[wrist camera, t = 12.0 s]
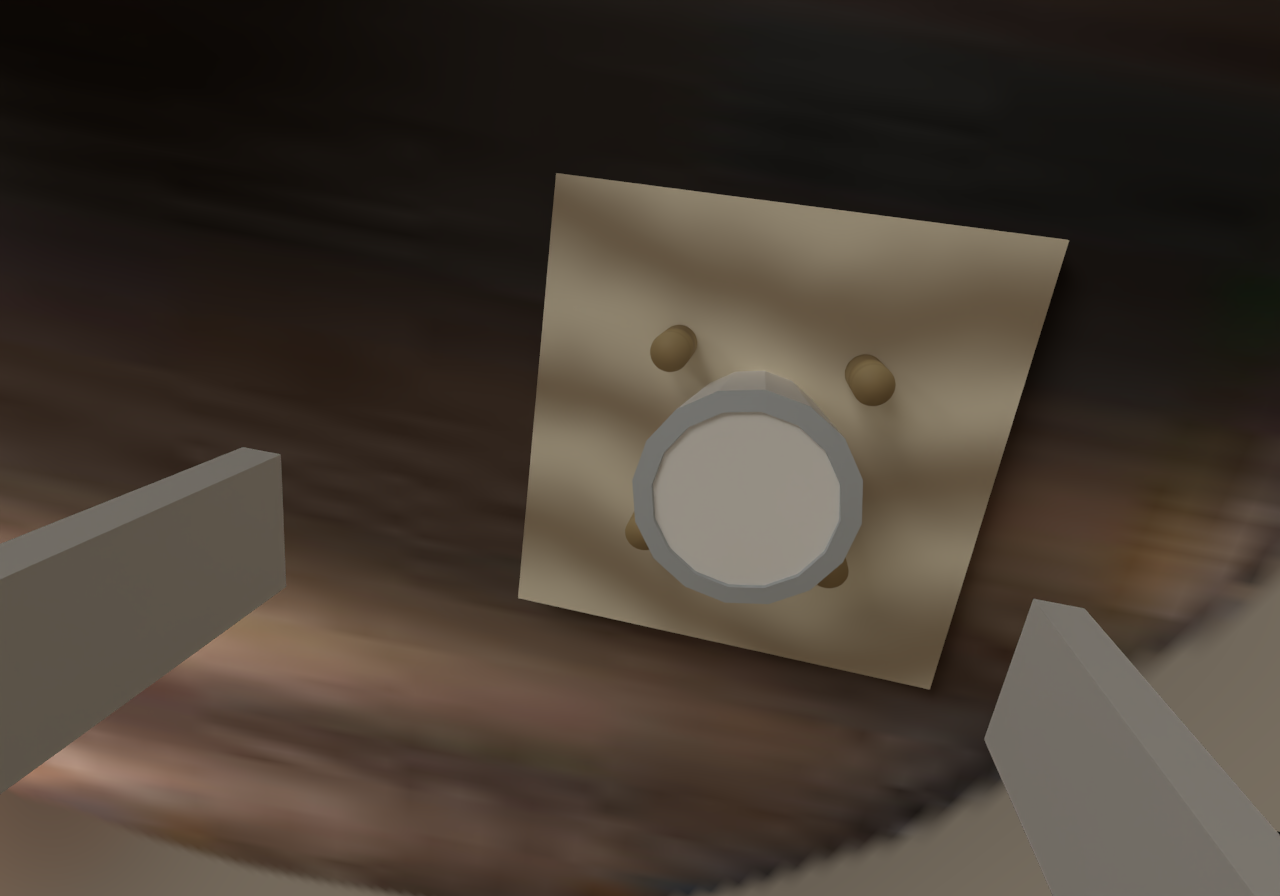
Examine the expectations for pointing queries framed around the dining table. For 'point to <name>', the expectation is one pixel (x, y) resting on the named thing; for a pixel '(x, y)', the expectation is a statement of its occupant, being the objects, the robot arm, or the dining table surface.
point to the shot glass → (748, 491)
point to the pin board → (796, 350)
